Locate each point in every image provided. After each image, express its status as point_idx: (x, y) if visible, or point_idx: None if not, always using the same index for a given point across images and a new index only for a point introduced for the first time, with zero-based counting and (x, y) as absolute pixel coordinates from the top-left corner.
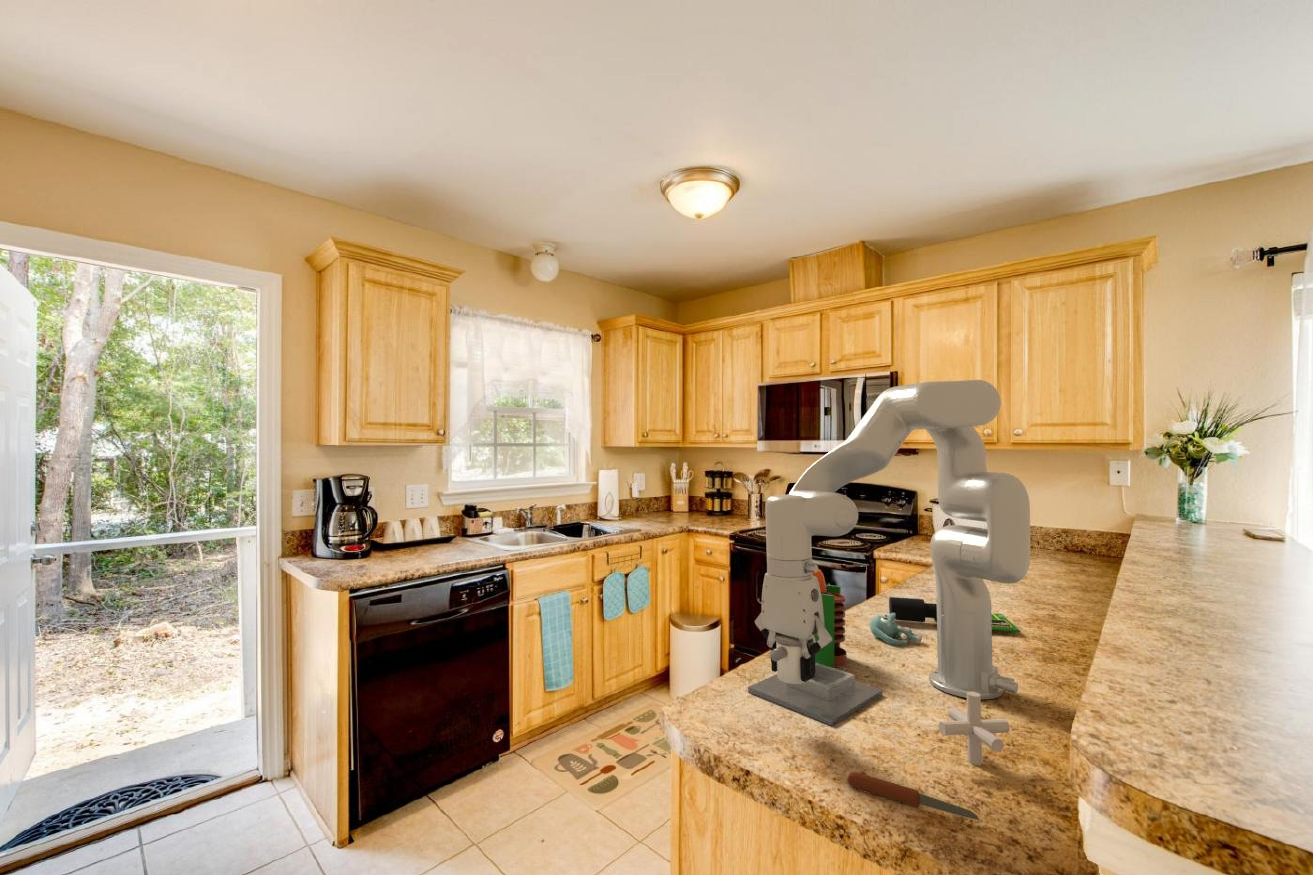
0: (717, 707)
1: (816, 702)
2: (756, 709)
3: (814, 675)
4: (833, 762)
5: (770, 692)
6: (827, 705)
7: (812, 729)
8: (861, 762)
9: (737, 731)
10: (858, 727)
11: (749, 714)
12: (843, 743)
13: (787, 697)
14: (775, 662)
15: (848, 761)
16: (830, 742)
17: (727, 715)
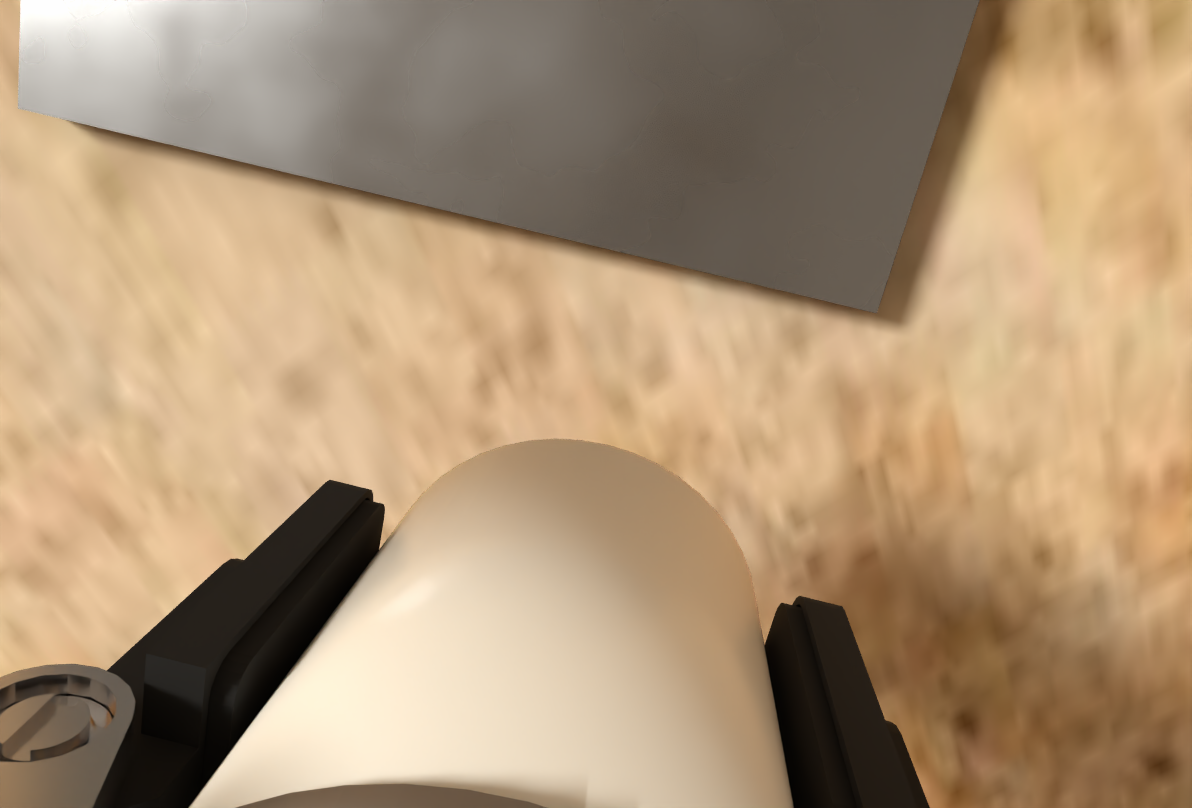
0: (54, 499)
1: (662, 49)
2: (279, 370)
3: (840, 610)
4: (976, 745)
5: (232, 97)
6: (770, 50)
7: (746, 434)
8: (1138, 665)
9: None
10: (1060, 200)
11: (283, 471)
12: (992, 504)
13: (403, 109)
14: None
15: (1059, 693)
16: (907, 538)
17: (177, 565)
